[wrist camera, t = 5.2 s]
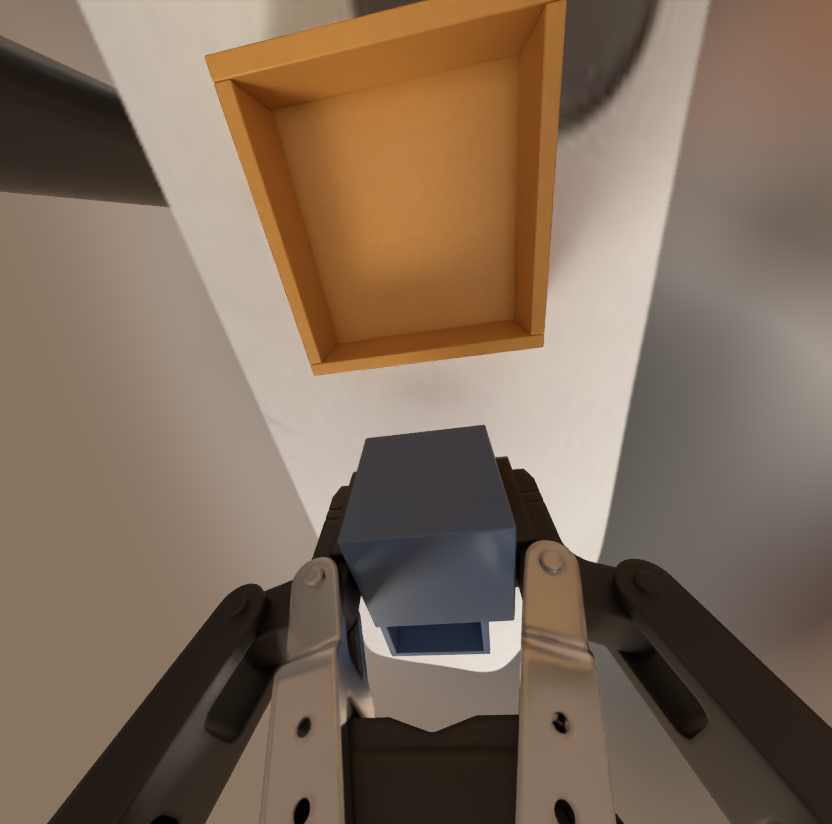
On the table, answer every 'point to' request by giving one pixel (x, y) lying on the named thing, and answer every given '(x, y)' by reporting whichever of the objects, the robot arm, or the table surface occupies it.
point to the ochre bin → (405, 175)
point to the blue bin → (438, 639)
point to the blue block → (431, 530)
